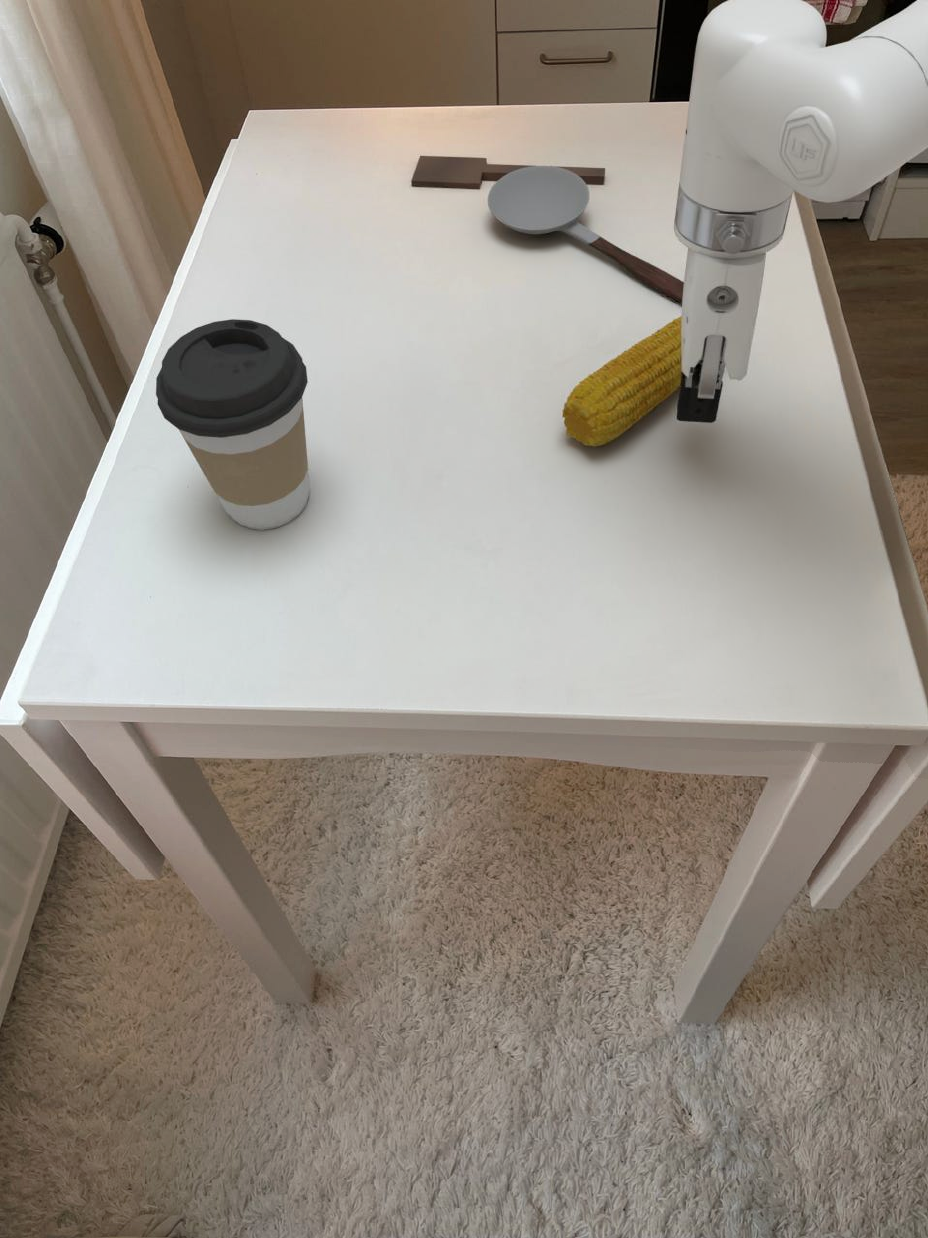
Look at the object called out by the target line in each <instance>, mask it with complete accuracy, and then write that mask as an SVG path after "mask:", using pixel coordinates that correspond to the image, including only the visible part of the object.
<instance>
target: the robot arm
mask: <svg viewBox="0 0 928 1238" xmlns="http://www.w3.org/2000/svg"><path fill="white" fill-rule="evenodd" d="M827 35H828V34H827V26H826V22H825V20H824V18H823V15H821V13H820V12H819V10H817V9H816V8H815V7H814V6H812V4H811V3H808V2H806V1H804V0H726V1H724V2H722V3H721V4H719V5H718V6H716V7H714V8H713V9H712V10H711V11H710V12H709V14H708V15H707V16H706V17H705V18H704V20H703V22H702V24H701V26H700V29H699V31H698V35H697V40H696V45H695V51H694V59H693V67H692V69H693V70H692V77H691V84H690V93H689V101H688V109H687V116H686V117H687V118H686V124H685V133H684V140H683V141H684V142H683V148H682V149H683V150H682V158H681V164H680V172H679V182H678V190H677V198H676V205H675V213H674V220H673V231H674V235H675V237H676V238H677V239H678V241H679V242H680V243H681V244H682V245H683V246H685V247H686V248H687V252H686V261H685V270H684V278H683V282H684V287H683V299H682V303H681V316H682V320H681V360H682V377H681V383H680V387H679V389H678V390H679V391H678V397H677V403H676V420H677V421H679V422H689V423H707V424H713V423H714V422H716V421H717V415H718V411H719V406H720V400H721V396H722V391H723V386H724V381H723V378H724V373H725V369H726V372H727V374H728V377H729V379H730V380H736V381H742V380H743V379H744V378H745V377H746V376H747V373H748V370H749V369H748V368H749V362H750V356H751V351H752V345H753V338H754V333H755V329H756V322H757V318H758V317H757V316H758V311H759V305H760V301H761V295H762V288H763V282H764V274H765V266H766V257H767V253H768V252H770V251H771V250H773V249H774V248H776V247H777V246H778V245H779V244H780V243H781V241H782V240H783V238H784V235H785V230H786V225H787V220H788V216H789V213H790V207H791V202H792V198H793V194H794V192H796V193H797V194H799V195H801V196H802V197H804V198H807V199H811V200H812V201H814V202H821V203H828V204H829V203H830V204H831V203H839V202H844V201H846V200H850V199H853V198H854V197H857V196H858V195H861V194H862V193H864V192H866V191H868V190H869V189H871V187H873V186H875V185H876V184H877V183H879V182H881V181H882V180H883V179H885V178H886V177H888V176H890V175H891V174H892V173H894V172H896V171H897V170H898V169H901V167H902V166H904V165H905V164H906V163H908V162H909V161H911V160H912V159H913V158H915V157H917V156H918V155H919V154H921V153H922V152H924V151H925V150H926V149H928V0H915V1H914V2H912V3H911V4H909V5H908V6H907V7H906V8H904V9H903V10H901V11H899V12H898V13H896V14H894V15H893V16H891V17H889V18H887V19H885V20H883V21H881V22H879V23H878V24H876V25H874V26H872V27H870V28H869V29H867V30H866V31H863V32H862V33H860V34H859V35H857V36H855V37H853V38H851V39H850V40H848V41H844V42H841V43H837V44H833V45H828V46H826V45H827Z"/></svg>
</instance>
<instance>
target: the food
mask: <svg viewBox="0 0 928 1238" xmlns="http://www.w3.org/2000/svg"><path fill="white" fill-rule="evenodd" d="M681 320H682V315H681V316H679V317H677V318H674V319H673V320H672V321H670V322H668V323H667V324H666V325H664V326H662V327H661V328H659V329H658V330H656V331H655V332H654V333H651V335H648V336H647V337H645V338H644V339H641V340H640V341H638V342H637V343H635V344H634V345H632V346H631V347H629V349H627V350H624V351H623V352H621V354H619V355H617V356H616V357H615V358H613V359H611V360H609V361H608V362H607V363H605V364H604V365H602V366H601V367H600V368H598V369H597V370H596V371H593V372H592V373H591V374H588V376H586V377H585V378H583V380H581V381H579V383H578V384H577V385H575V387H574V388H573V389H572V391H570V393H569V395H568V397H567V398H566V399H567V400H566V402H564V405H563V409H562V418H564V420H563V424H564V427H565V428H566V430H565V433H566V434H567V436H568V438H575V441H577V442H579V443H581V444H583V445H584V446H588V447H600V446H604V445H606V444H608V443H609V442H613V440H616V438H618V437H620V436H621V435H623V434H624V433H625V432H626V431H627V430H629V429H630V428H631V427H632V426H633V425H635V424H636V423H637V422H639V421H640V420H641V419H643V417H645V416H646V415H648V413H650V412H651V411H652V410H653V409H654V408H656V407H657V406H658V405H660V403H662V402H664V401H665V400H666V399H667V398H668V397H670V396H671V395H672V394H673V393H674V391H677V389H678V388H680V383H681V377H682V360H681Z"/></svg>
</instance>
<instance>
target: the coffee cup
mask: <svg viewBox="0 0 928 1238" xmlns="http://www.w3.org/2000/svg"><path fill="white" fill-rule="evenodd" d="M307 371H308V370H307V366H306V364H305V363H304V361H303V357H302V355H301V354H300V353H299V352H298V350H297V348H296V347H295V345H294V344H293V343H292V342H290V341H288V340H287V339H285V337H283V336H282V335H281V333H280V332H278V331H277V330H275V329H274V328H272V327H271V326H269V325H268V324H264V323H262V322H259V321H254V320H250V319H235V318H234V319H233V318H231V319H225V320H217V321H212V322H209V323H207V324H203V325H201V326H197V327H196V328H193V329H192V330H190V331H188V332H187V333H185V334H183V335H181V336H179V338H178V339H177V340H175V342H174V343H173V344H172V345H171V346H170V347H169V348H167V351H166V352H165V355H164V357H163V359H162V361H161V368H160V370H159V372H158V374H157V376H156V377H155V378H156V381H155V384H156V385H155V396H156V398H157V406H158V408H159V410H160V412H161V414H162V416H163V418H164V419H165V420H166V421H167V422H169V424H171V425H172V426H174V427H175V428H176V429H177V430H178V431H179V433H180V435H181V437H182V438H183V439H184V442H185V444H186V445H187V447H188V448H189V450H190V453H192V456H193V457H194V460H195V461H196V462H197V464H198V466H199V468H200V470H201V471H202V473H203V474H204V475H203V476H205V478H206V480H207V482H208V483H209V485H210V487H211V488H212V490H213V492H214V493H215V495H216V497H217V499H218V500H219V502H220V504H221V506H222V508H223V509H224V511H225V513H226V514H227V515H229V516H230V517H231V519H232V520H233V521H235V523H237V524H238V525H239V526H242V527H244V528H247V529H249V530H258V531H265V530H270V529H271V530H272V529H277V528H280V527H282V526H285V525H287V524H289V523H291V522H292V521H294V520H295V519H296V518H297V517H299V516H300V515H301V513H303V511H304V509H305V508H306V507H307V504H308V501H309V493H310V490H311V487H310V475H309V462H308V450H307V449H308V448H307V439H306V425H305V413H304V412H305V411H304V399H303V396H304V394H305V391H306V387H307V385H308V383H309V382H308V372H307Z"/></svg>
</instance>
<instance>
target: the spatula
mask: <svg viewBox="0 0 928 1238" xmlns="http://www.w3.org/2000/svg"><path fill="white" fill-rule="evenodd" d="M487 161H488V159H487V157H472V156H469V157H468V156H439V155H420V156H419V158H418V160H417V163H416V167H415V169H414V172H413V175H412V178H411V187H419V188H420V187H424V188H450V189H473V190H474V189H475V190H480V189H481V187H482V183H483V181H496V182H497V181H498V180H499V179H501V178H502V177H503V176H505V175H507V174H508V173H511V172H513V171H515V170H518V169H522V168H526V167H531V166H532V165H530V164H529V165H527V164H526V165H525V164H503V163H502V164H498V163H488V162H487ZM553 166H554V167H559V168H563V169H566V170H569V171H571V172H573V173H575V174H576V175H578V176H579V177H580V178H581V179H582V180H583V181H584V182H585V183H586V185H605V179H606V168H605V167H589V166H588V167H586V166H585V167H584V166H555V165H553Z"/></svg>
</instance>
